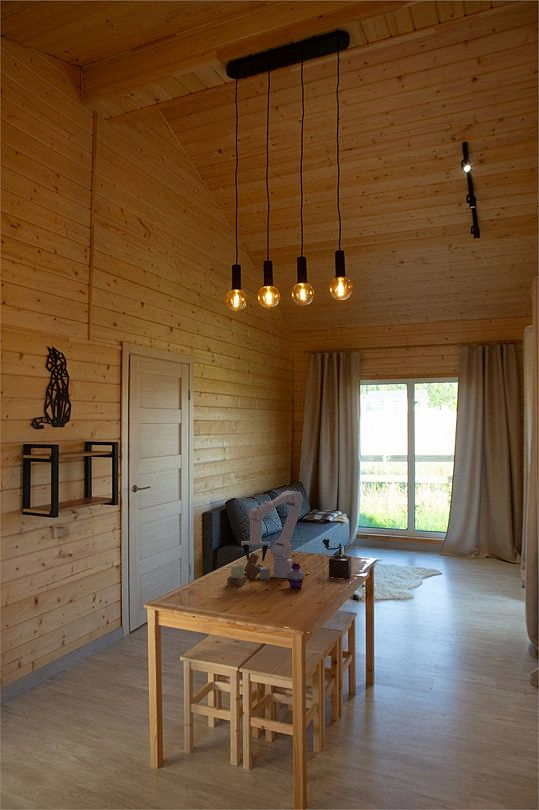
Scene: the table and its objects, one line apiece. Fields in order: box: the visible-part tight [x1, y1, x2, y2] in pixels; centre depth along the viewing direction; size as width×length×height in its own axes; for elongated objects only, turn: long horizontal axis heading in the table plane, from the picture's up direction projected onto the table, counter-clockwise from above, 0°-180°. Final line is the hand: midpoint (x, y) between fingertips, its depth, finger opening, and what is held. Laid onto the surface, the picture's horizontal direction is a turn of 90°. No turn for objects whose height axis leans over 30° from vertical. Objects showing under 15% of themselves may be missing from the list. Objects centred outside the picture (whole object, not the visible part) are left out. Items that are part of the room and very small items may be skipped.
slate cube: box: [259, 566, 271, 580], centre depth 274 cm, size 5×5×5 cm
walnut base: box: [226, 574, 247, 588], centre depth 262 cm, size 7×7×4 cm
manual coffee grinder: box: [322, 538, 352, 580], centre depth 280 cm, size 16×11×18 cm
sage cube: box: [230, 564, 244, 578], centre depth 263 cm, size 5×5×5 cm
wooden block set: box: [243, 552, 264, 580], centre depth 280 cm, size 18×9×10 cm, turn 176°
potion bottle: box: [286, 561, 306, 590], centre depth 257 cm, size 9×9×12 cm
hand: (255, 560), depth 268 cm, fingers open, 7 cm apart
